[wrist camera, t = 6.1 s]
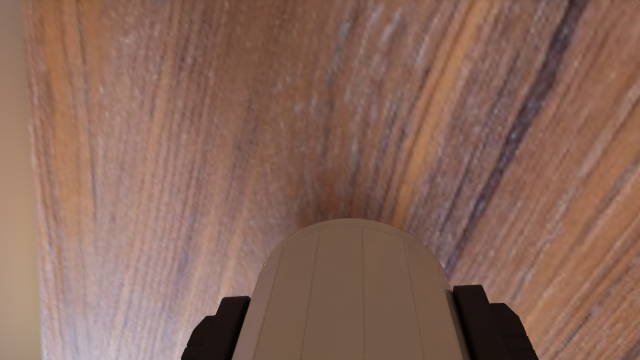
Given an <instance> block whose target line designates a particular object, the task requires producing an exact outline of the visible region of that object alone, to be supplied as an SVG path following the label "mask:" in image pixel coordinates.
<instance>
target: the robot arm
mask: <svg viewBox="0 0 640 360" xmlns="http://www.w3.org/2000/svg"><path fill="white" fill-rule="evenodd" d="M453 295H454V298H455V302H456V305H457V308H458V312H459V315H460V319H461V322H462V325H463V329H464V332H465V335H466V339H467V342H468V346H469V349H470V352H471V356H472V359H473V360H539V359H538V357H537V355H536V353H535V351H534V350H533V347H532V344H531V342H530V340H529V338H528V336H527V335H526V331H525V329H524V327H523V325H522V323H521V320H520V318H519V316H518V315H517V314H515V313H514V312H513V311H512V310H511V309H510V308H509V307H508V306H507V305H506V304H505V303H490V304H489V301H488V299H487V296H486V294H485V291H484V289H483V287H482V285H463V286H454V287H453ZM250 301H251V298H250V297H249V296H238V297H224V298H223V299H222V301H221V303H220V305H219V308H218V310H217V313H216V315H215V316H206V317H205V318H204V319H203V320H202V321H201V322H200V323H199V324H198V325H197V326H196V327H195V329H194V330H193V332H192V334H191V336H190V339H189V341H188V343H187V348H185V350H184V352H183V354H182V356H181V360H232V357H233V354H234V351H235V348H236V344H237V341H238V338H239V335H240V332H241V329H242V326H243V323H244V319H245V316H246V313H247V310H248V307H249V304H250Z"/></svg>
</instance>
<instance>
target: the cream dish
mask: <svg viewBox="0 0 640 360" xmlns="http://www.w3.org/2000/svg"><path fill="white" fill-rule="evenodd" d="M232 360H473V359H472V356H471V352H470V349H469V346H468V342H467V339H466V335H465V332H464V329H463V325H462V322H461V319H460V315H459V312H458V308H457V305H456V302H455V298H454V295H453V291H452V289H451V287H450V285H449V284H448V280H447V277H446V274H445V272H444V270H443V268H442V265H441V264H440V262H439V261H438V259H437V258H436V256H435V255H434V254H433V253H432V252H431V251H430V250H429V248H428V247H427V246H425V245H424V244H423V243H422V242H421V241H419V240H418V239H417V238H415V237H414V236H412V235H410V234H409V233H407V232H405V231H403V230H401V229H399V228H397V227H395V226H392V225H389V224H386V223H383V222H378V221H374V220H369V219H359V218H341V219H333V220H327V221H323V222H319V223H315V224H312V225H310V226H307V227H304V228H302V229H300V230H298V231H297V232H295V233H293V234H291V235H290V236H288V237H287V238H286V239H284V240H283V241H282V242H281V243H280V244H279V245H278V246H277V247H275V248H274V250H273V251H272V252H271V254H270V255H269V256H268V257H267V259H266V261H265V263H264V265H263V267H262V270H261V272H260V273H259V276H258V279H257V282H256V285H255V288H254V291H253V295H252V298H251V301H250V304H249V307H248V310H247V313H246V316H245V319H244V323H243V326H242V329H241V332H240V335H239V338H238V341H237V344H236V348H235V351H234V354H233V357H232Z"/></svg>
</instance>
